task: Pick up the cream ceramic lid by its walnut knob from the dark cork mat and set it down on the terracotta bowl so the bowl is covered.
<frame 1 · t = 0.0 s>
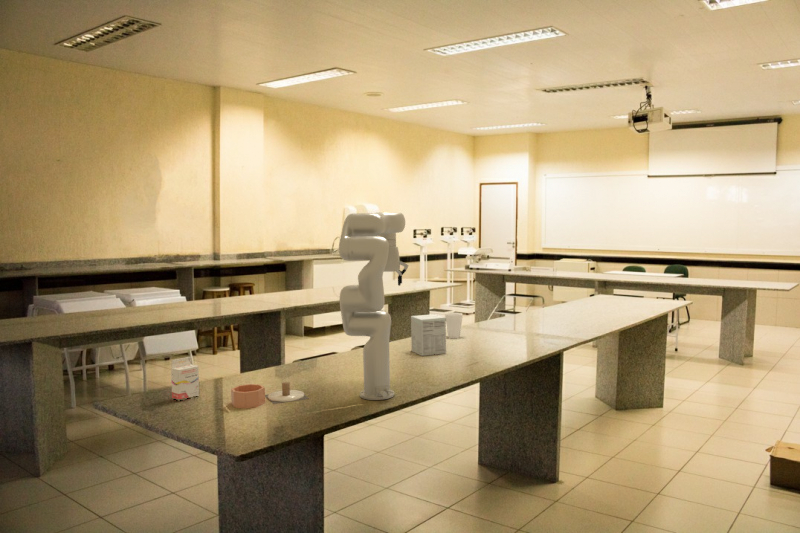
hand: (387, 285, 257), 37 cm above the countertop, tool pointing down, fingers open, 9 cm apart
bowl: (248, 404, 219), on the countertop
supplement box: (428, 352, 302), on the countertop
ink cartridge box: (186, 398, 229), on the countertop
lid: (286, 396, 226), point 1 cm above the countertop, touching mat
mat: (286, 398, 226), on the countertop
foam cup: (454, 337, 339), on the countertop
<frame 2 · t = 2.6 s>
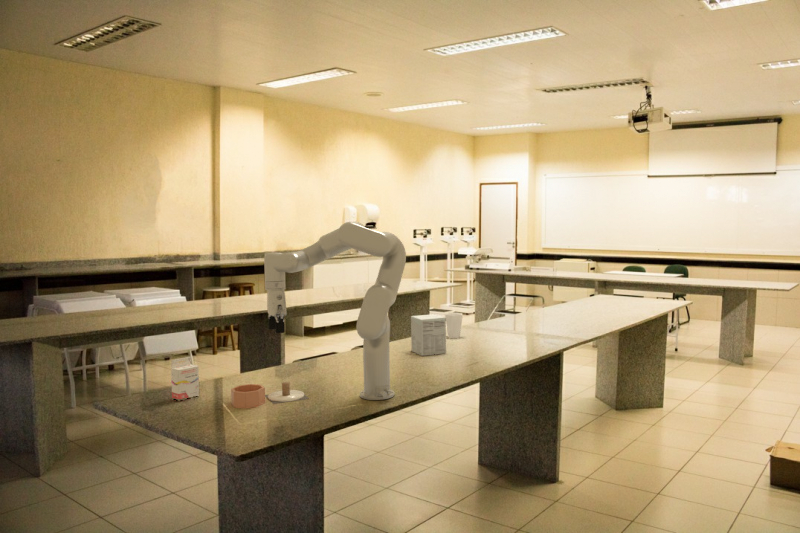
hand: (276, 330, 234), 23 cm above the countertop, tool pointing down, fingers open, 9 cm apart
nothing on the countertop moved.
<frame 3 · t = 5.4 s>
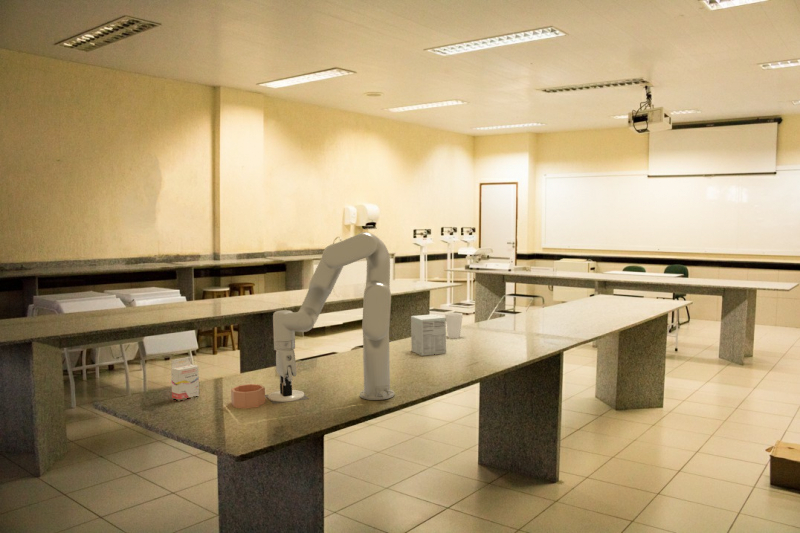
hand: (286, 394, 226), 2 cm above the countertop, tool pointing down, fingers closed on lid, 2 cm apart
lid: (286, 396, 226), point 1 cm above the countertop, touching gripper, mat
everything else where it was.
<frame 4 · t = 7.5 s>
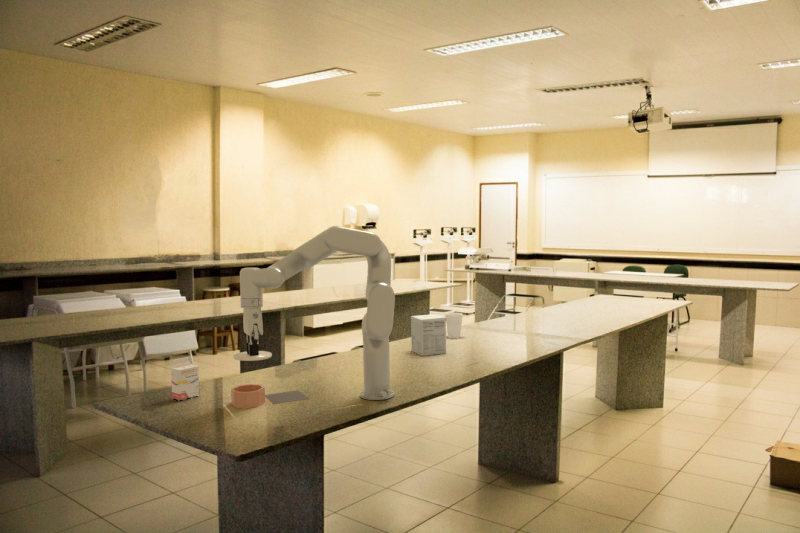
hand: (252, 354, 219), 18 cm above the countertop, tool pointing down, fingers closed on lid, 2 cm apart
lid: (252, 356, 219), point 17 cm above the countertop, touching gripper
everything else where it was.
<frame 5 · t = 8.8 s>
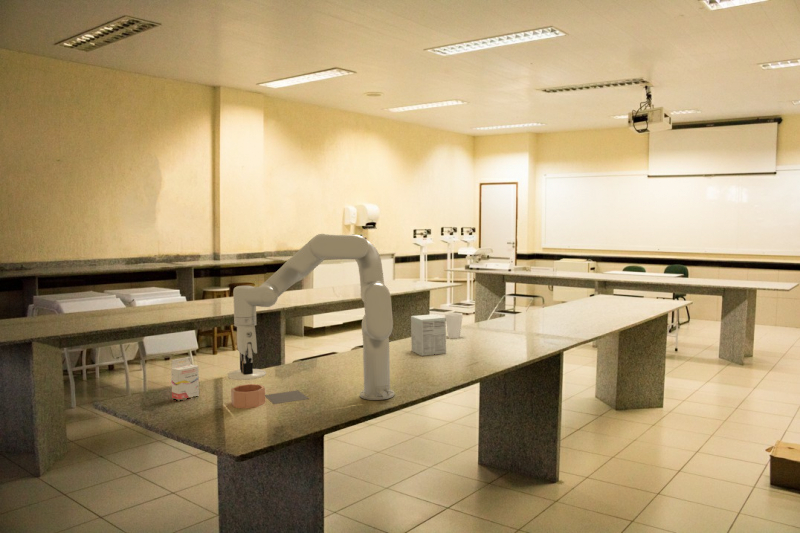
hand: (246, 372, 218), 12 cm above the countertop, tool pointing down, fingers closed on lid, 2 cm apart
lid: (246, 375, 218), point 11 cm above the countertop, touching gripper
everything else where it was.
when the fingers open (8 cm above the countertop, at t = 9.6 s): lid drops 1 cm, resting on bowl.
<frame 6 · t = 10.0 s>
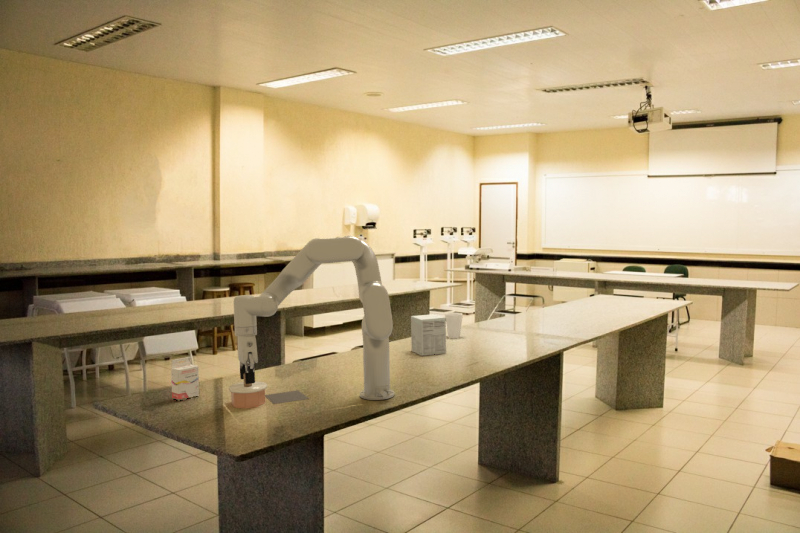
hand: (247, 380, 218), 9 cm above the countertop, tool pointing down, fingers open, 6 cm apart
lid: (248, 388, 219), point 6 cm above the countertop, touching bowl
everything else where it was.
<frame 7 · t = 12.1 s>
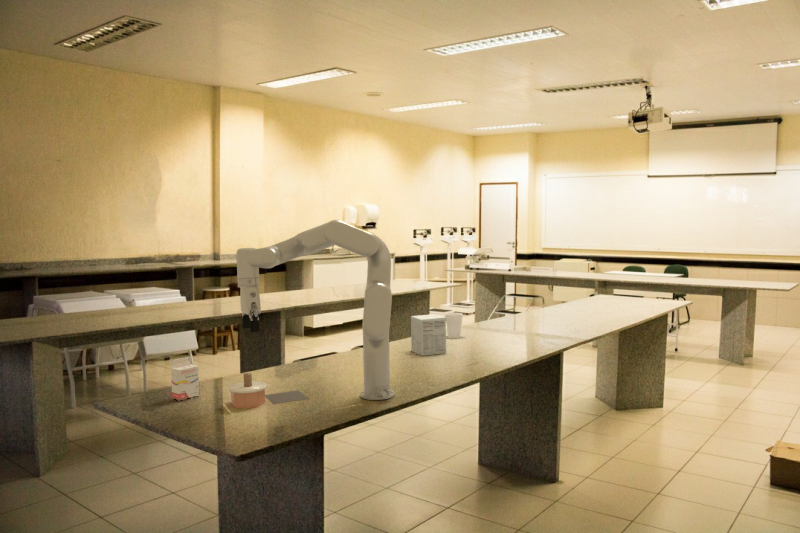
hand: (250, 329, 223), 26 cm above the countertop, tool pointing down, fingers open, 9 cm apart
nothing on the countertop moved.
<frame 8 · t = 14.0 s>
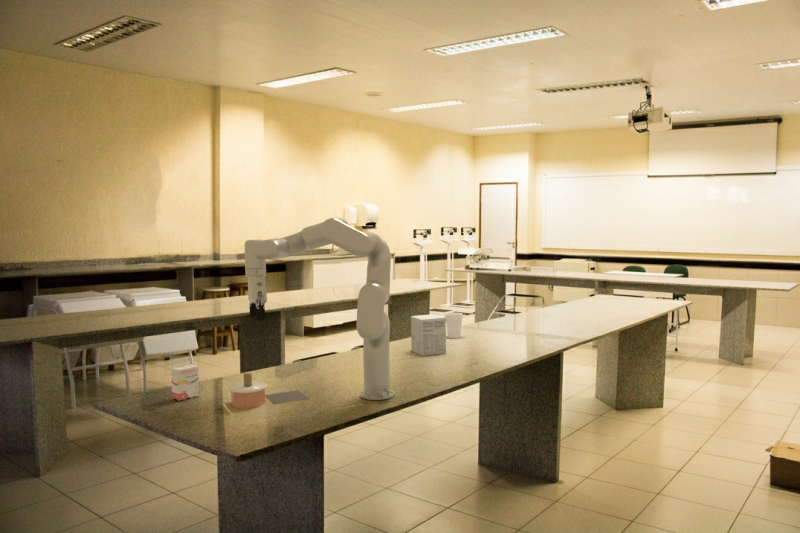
hand: (257, 317, 234), 28 cm above the countertop, tool pointing down, fingers open, 9 cm apart
nothing on the countertop moved.
at the end: lid 0.1 cm off-centre on the bowl, point 6.0 cm above the bowl's base; lid tilted 0°; the gripper is holding nothing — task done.
